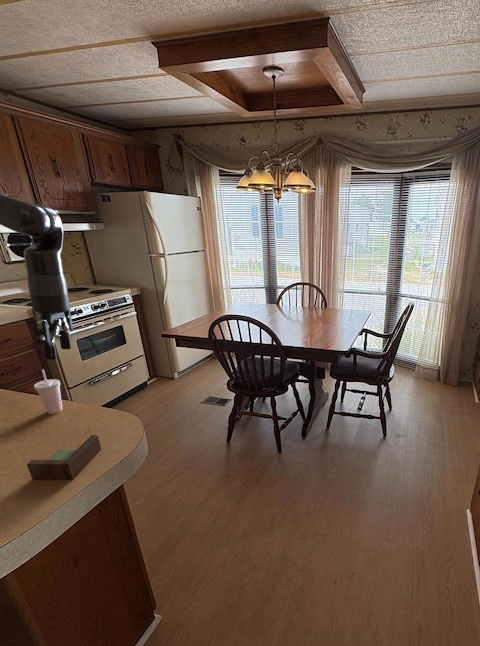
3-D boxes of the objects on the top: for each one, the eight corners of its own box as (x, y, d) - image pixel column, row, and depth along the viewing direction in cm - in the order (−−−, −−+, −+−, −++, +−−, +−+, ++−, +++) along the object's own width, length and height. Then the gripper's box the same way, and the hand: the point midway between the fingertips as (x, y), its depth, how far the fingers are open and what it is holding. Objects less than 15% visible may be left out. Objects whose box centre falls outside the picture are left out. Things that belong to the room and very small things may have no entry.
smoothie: (65, 403, 113) (54, 364, 107) (69, 411, 109) (57, 370, 103) (41, 410, 108) (27, 369, 103) (44, 418, 104) (30, 376, 99)
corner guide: (27, 479, 80) (21, 464, 78) (62, 449, 91) (57, 434, 89) (73, 479, 80) (68, 464, 79) (101, 449, 91) (97, 434, 90)
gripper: (45, 286, 90) (55, 345, 96) (13, 295, 77) (27, 362, 83) (78, 289, 92) (86, 346, 98) (52, 297, 79) (63, 363, 85)
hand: (59, 353), depth 90 cm, fingers open, 8 cm apart
